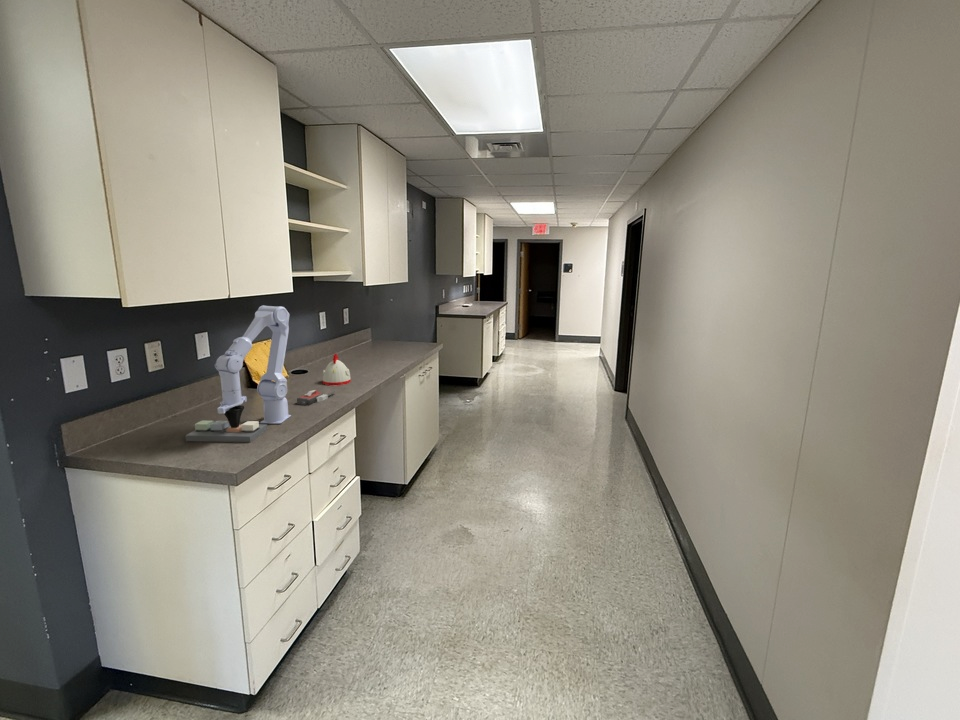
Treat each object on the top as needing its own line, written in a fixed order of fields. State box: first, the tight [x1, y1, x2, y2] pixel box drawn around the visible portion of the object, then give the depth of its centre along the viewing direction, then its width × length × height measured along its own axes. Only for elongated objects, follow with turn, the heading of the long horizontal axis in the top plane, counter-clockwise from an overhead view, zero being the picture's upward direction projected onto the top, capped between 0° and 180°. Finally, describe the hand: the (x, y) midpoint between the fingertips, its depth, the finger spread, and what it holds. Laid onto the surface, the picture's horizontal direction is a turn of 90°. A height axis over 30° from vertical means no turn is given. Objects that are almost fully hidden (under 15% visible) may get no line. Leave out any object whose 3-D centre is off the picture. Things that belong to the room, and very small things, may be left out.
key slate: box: [210, 420, 229, 432], centre depth 156 cm, size 4×4×3 cm
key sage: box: [194, 420, 214, 432], centre depth 156 cm, size 4×4×3 cm
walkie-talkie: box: [296, 389, 336, 406], centre depth 201 cm, size 9×4×20 cm
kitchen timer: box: [322, 353, 352, 386], centre depth 230 cm, size 14×14×15 cm
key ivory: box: [241, 420, 260, 433], centre depth 156 cm, size 4×4×3 cm
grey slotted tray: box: [185, 423, 268, 443], centre depth 156 cm, size 12×22×2 cm, turn 89°
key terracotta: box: [226, 425, 242, 432], centre depth 156 cm, size 4×4×3 cm
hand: (235, 427), depth 156 cm, fingers closed, pressing on key terracotta
